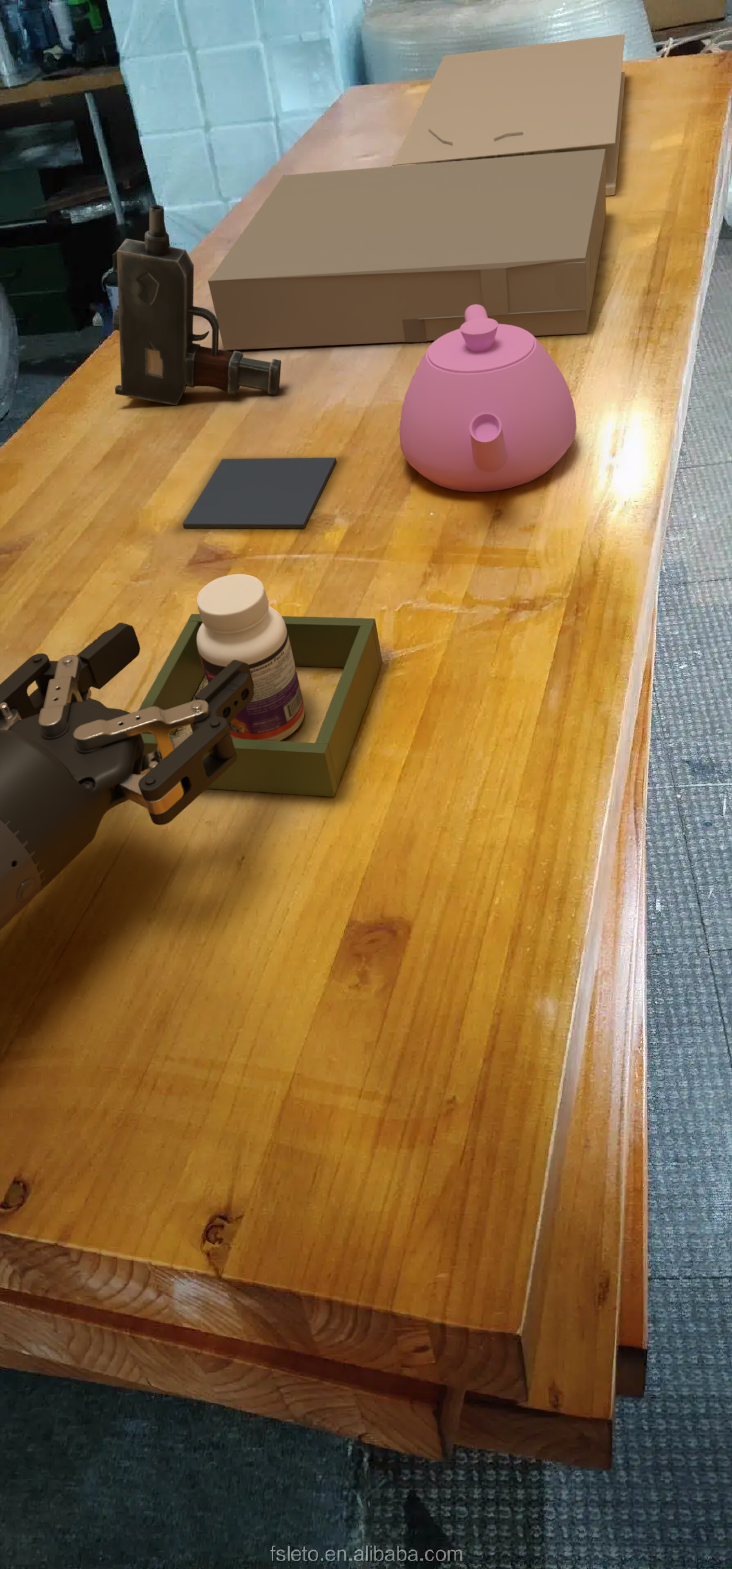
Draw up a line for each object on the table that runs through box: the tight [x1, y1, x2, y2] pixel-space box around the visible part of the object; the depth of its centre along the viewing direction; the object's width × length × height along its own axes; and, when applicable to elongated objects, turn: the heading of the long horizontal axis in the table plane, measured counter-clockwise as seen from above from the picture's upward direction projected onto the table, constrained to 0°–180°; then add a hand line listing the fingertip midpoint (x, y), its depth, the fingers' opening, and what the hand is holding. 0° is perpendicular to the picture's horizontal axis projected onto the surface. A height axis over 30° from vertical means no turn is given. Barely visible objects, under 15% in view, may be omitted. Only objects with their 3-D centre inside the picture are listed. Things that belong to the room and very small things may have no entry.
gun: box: [112, 204, 282, 406], centre depth 105 cm, size 3×17×15 cm
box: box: [207, 149, 607, 351], centre depth 120 cm, size 35×29×7 cm
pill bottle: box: [196, 573, 306, 741], centre depth 72 cm, size 5×5×10 cm
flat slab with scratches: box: [392, 33, 626, 197], centre depth 149 cm, size 45×24×6 cm, turn 170°
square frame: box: [137, 613, 383, 798], centre depth 74 cm, size 13×13×4 cm
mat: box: [182, 457, 337, 529], centre depth 96 cm, size 10×10×1 cm
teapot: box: [398, 304, 577, 493], centre depth 91 cm, size 14×20×11 cm
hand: (187, 653), depth 67 cm, fingers open, 8 cm apart
